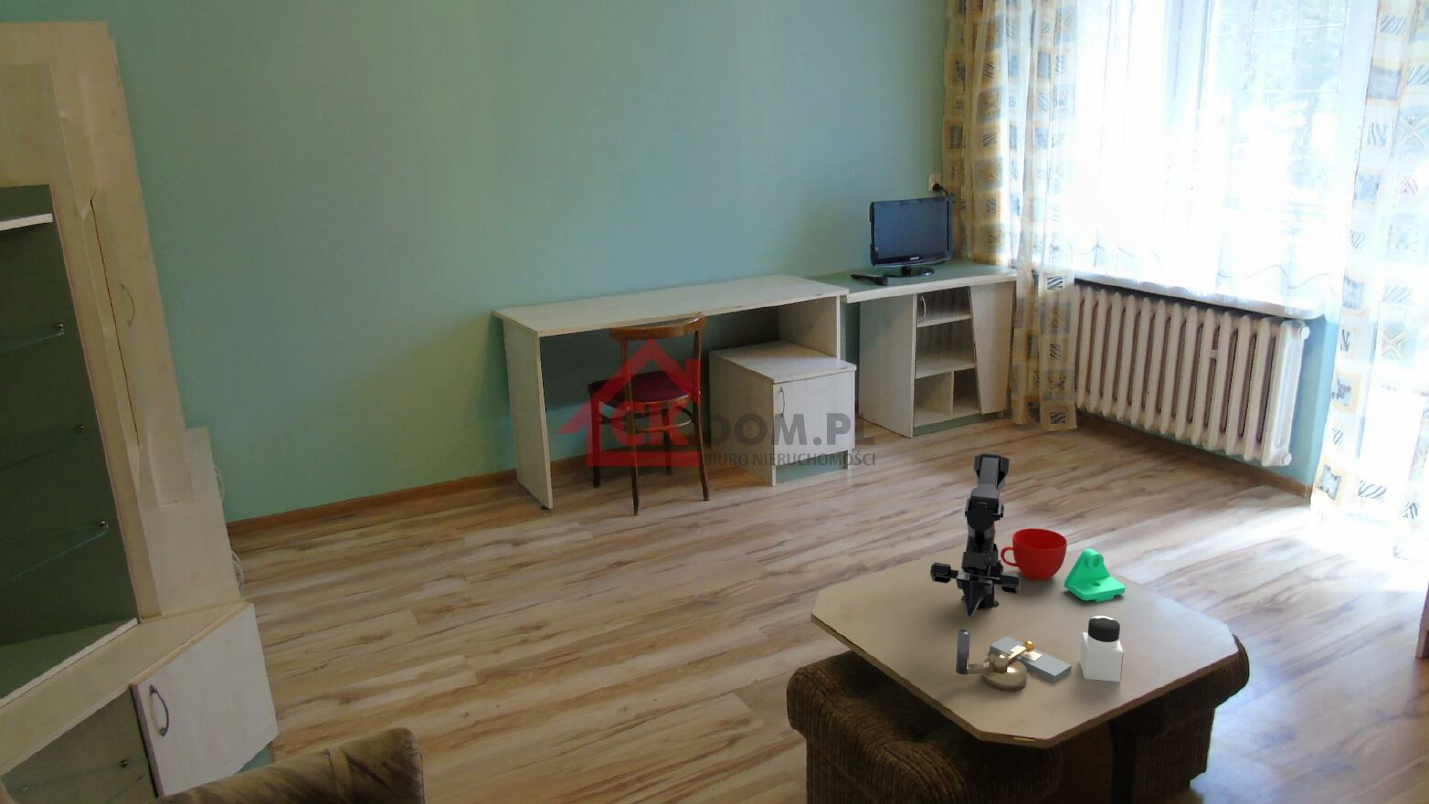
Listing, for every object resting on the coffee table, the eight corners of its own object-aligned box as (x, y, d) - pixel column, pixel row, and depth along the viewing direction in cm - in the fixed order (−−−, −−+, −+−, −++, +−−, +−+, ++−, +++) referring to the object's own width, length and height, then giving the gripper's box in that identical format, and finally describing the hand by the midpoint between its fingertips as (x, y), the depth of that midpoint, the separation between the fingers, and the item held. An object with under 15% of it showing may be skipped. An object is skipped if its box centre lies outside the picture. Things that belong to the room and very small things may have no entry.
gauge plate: (989, 651, 216) (990, 644, 216) (1006, 641, 220) (1006, 635, 219) (1054, 682, 204) (1055, 675, 204) (1071, 671, 208) (1071, 664, 207)
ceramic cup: (986, 569, 254) (988, 533, 251) (1045, 561, 258) (1048, 525, 255) (1012, 592, 242) (1015, 554, 239) (1074, 583, 246) (1078, 546, 243)
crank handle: (1030, 655, 214) (1034, 606, 210) (1056, 685, 203) (1060, 634, 199) (942, 665, 211) (945, 616, 207) (964, 695, 200) (967, 644, 196)
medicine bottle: (1120, 682, 204) (1126, 630, 200) (1084, 679, 205) (1089, 627, 201) (1114, 664, 210) (1119, 613, 207) (1079, 661, 212) (1083, 610, 208)
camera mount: (1083, 605, 235) (1087, 565, 232) (1063, 590, 242) (1067, 552, 239) (1126, 596, 239) (1130, 557, 236) (1105, 583, 246) (1109, 545, 243)
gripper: (933, 528, 216) (921, 597, 209) (1022, 540, 209) (1013, 612, 203) (938, 546, 225) (927, 613, 219) (1023, 558, 218) (1015, 627, 212)
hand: (969, 616), depth 213 cm, fingers closed
